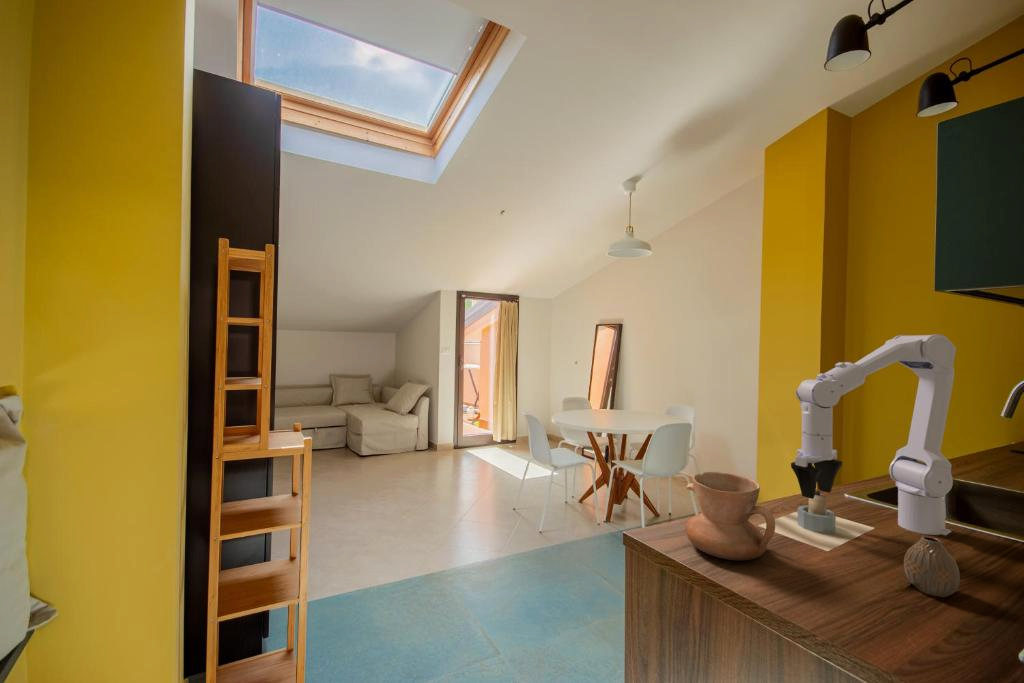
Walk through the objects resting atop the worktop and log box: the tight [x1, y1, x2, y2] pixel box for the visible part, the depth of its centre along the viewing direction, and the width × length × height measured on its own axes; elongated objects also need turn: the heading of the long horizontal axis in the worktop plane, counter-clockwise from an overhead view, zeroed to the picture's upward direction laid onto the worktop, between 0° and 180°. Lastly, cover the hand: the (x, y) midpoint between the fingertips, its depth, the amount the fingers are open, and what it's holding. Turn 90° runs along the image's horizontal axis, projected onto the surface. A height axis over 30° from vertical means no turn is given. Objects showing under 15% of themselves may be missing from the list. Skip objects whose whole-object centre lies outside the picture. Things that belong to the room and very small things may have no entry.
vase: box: [903, 535, 961, 598], centre depth 75 cm, size 7×7×9 cm
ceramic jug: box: [685, 471, 775, 561], centre depth 88 cm, size 18×14×14 cm
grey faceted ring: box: [797, 505, 837, 533], centre depth 99 cm, size 7×7×4 cm
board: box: [757, 510, 876, 552], centre depth 99 cm, size 22×14×1 cm, turn 122°
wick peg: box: [807, 489, 827, 515], centre depth 99 cm, size 3×3×8 cm
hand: (816, 494), depth 99 cm, fingers open, 7 cm apart
